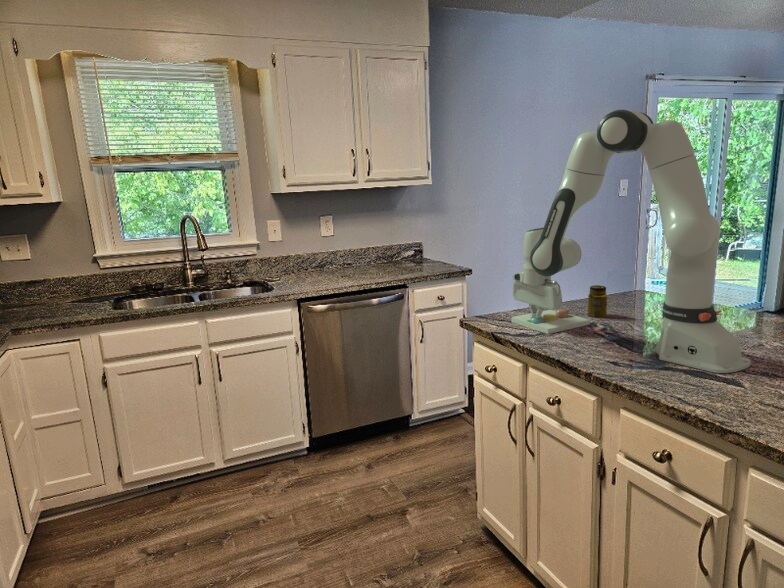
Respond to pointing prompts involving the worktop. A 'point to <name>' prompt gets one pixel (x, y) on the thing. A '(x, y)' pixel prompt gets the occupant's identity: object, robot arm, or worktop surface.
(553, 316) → the button mustard
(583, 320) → the panel
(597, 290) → the condiment
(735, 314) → the worktop surface
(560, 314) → the salmon brown ball
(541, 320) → the button teal
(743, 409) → the worktop surface
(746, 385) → the worktop surface
